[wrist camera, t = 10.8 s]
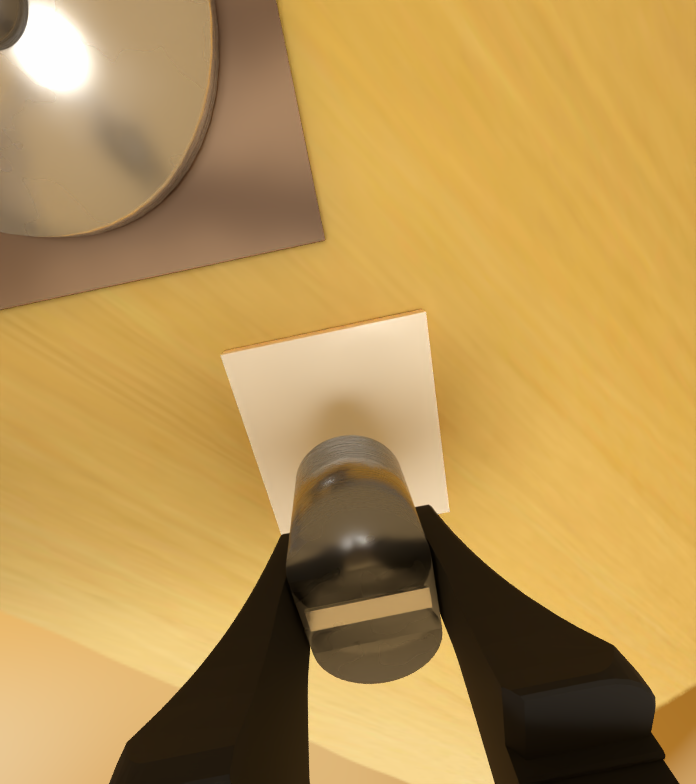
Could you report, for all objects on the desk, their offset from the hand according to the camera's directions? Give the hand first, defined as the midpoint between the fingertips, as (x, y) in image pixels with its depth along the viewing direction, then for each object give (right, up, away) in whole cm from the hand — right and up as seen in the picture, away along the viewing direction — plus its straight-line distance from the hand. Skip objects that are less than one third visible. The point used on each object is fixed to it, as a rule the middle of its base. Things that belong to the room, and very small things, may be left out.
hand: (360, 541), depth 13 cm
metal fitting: (0, +1, +1) cm, 1 cm away
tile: (0, +3, +7) cm, 8 cm away
